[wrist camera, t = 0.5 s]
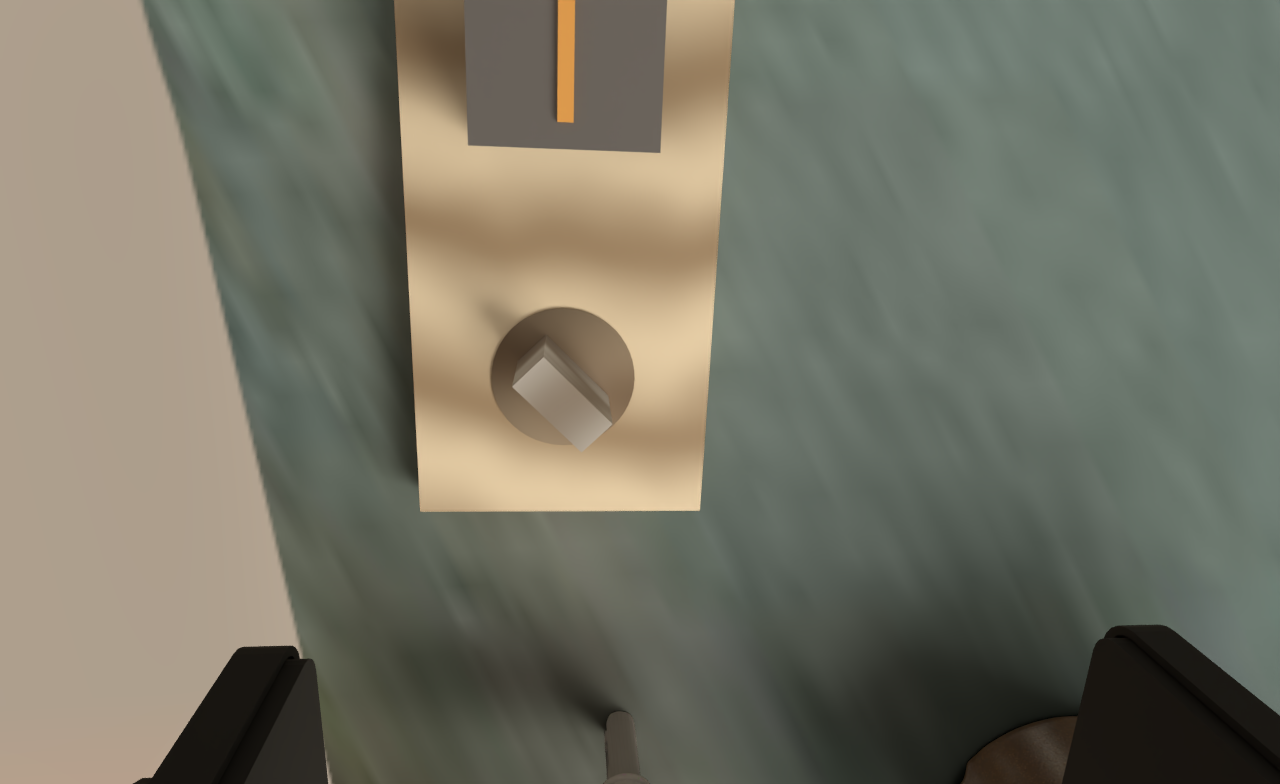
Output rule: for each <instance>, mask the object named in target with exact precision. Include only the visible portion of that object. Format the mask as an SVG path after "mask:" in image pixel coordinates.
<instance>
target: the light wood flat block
mask: <svg viewBox="0 0 1280 784" xmlns="http://www.w3.org/2000/svg"><path fill="white" fill-rule="evenodd" d="M734 3H735V0H667V16H666V39H665V61H664V83H663V106H662V128H661V151H660V153H647V152H621V151H596V150H570V149H545V148H519V147H494V146H468V132H467V94H466V57H465V19H464V0H394V9H395V29H396V48H397V68H398V87H399V107H400V126H401V146H402V165H403V185H404V204H405V223H406V243H407V262H408V282H409V301H410V321H411V340H412V360H413V379H414V399H415V418H416V438H417V457H418V477H419V496H420V512H446V511H700V500H701V486H702V471H703V456H704V442H705V427H706V412H707V398H708V383H709V369H710V354H711V339H712V325H713V310H714V295H715V281H716V266H717V252H718V237H719V222H720V208H721V193H722V178H723V164H724V149H725V135H726V120H727V105H728V91H729V76H730V61H731V47H732V32H733V18H734Z"/></svg>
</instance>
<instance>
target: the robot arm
mask: <svg viewBox="0 0 1280 784" xmlns="http://www.w3.org/2000/svg"><path fill="white" fill-rule="evenodd" d="M133 784H328V778H327V768H326V759H325V750H324V740H323V731H322V722H321V712H320V703H319V694H318V684H317V675H316V668H315V664H314V661H313V660H312V659H300V658H299V653H298V651H297V649H296V648H295V647H294V646H262V647H261V646H260V647H242V648H239V649H238V650H237V651H236V652H235V653H234V654H233V656H232V657H231V659H230V660H229V662H228V663H227V665H226V666H225V668H224V669H223V671H222V672H221V674H220V675H219V677H218V679H217V680H216V682H215V683H214V684H213V686H212V687H211V689H210V690H209V692H208V694H207V695H206V697H205V698H204V700H203V701H202V703H201V704H200V706H199V707H198V709H197V710H196V712H195V713H194V715H193V716H192V718H191V719H190V721H189V722H188V724H187V726H186V727H185V729H184V730H183V732H182V733H181V735H180V736H179V738H178V739H177V741H176V742H175V744H174V745H173V747H172V748H171V750H170V751H169V753H168V755H167V756H166V758H165V759H164V760H163V762H162V764H161V765H160V767H159V768H158V770H157V771H156V773H155V774H154V776H153V777H152V778H142V779H140V780H139V781H137V782H135V783H133ZM1062 784H1280V716H1279V715H1278V714H1277V713H1276V712H1274V711H1273V710H1272V709H1271V708H1269V707H1268V706H1267V705H1266V704H1264V703H1263V702H1262V701H1261V700H1259V699H1258V698H1257V697H1256V696H1255V695H1253V694H1252V693H1251V692H1250V691H1248V690H1247V689H1246V688H1245V687H1243V686H1242V685H1241V684H1240V683H1238V682H1237V681H1236V680H1235V679H1233V678H1232V677H1231V676H1230V675H1228V674H1227V673H1226V672H1225V671H1223V670H1222V669H1221V668H1220V667H1218V666H1217V665H1216V664H1215V663H1213V662H1212V661H1211V660H1210V659H1208V658H1207V657H1206V656H1205V655H1203V654H1202V653H1201V652H1200V651H1199V650H1197V649H1196V648H1195V647H1194V646H1192V645H1191V644H1190V643H1189V642H1187V641H1186V640H1185V639H1184V638H1182V637H1181V636H1180V635H1179V634H1177V633H1176V632H1175V631H1173V630H1172V629H1170V628H1168V627H1167V626H1162V625H1127V626H1115V627H1112V628H1111V629H1110V630H1109V631H1108V632H1107V633H1106V635H1105V637H1104V639H1100V640H1099V641H1098V642H1097V643H1096V645H1095V647H1094V650H1093V654H1092V658H1091V662H1090V666H1089V671H1088V675H1087V679H1086V683H1085V687H1084V692H1083V696H1082V700H1081V704H1080V708H1079V713H1078V717H1077V721H1076V725H1075V729H1074V734H1073V738H1072V742H1071V746H1070V751H1069V755H1068V759H1067V763H1066V767H1065V772H1064V776H1063V780H1062Z"/></svg>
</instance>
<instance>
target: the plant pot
mask: <svg viewBox="0 0 1280 784" xmlns="http://www.w3.org/2000/svg"><path fill="white" fill-rule="evenodd" d="M1077 717H1078V716H1066V717H1055V718H1050V719H1045V720H1041V721H1038V722H1034V723H1030V724H1027V725H1025V726H1022V727H1019V728H1017V729H1015V730H1013V731H1011V732H1008V733H1006V734H1004V735H1003V736H1001V737H999V738H998V739H996V740H994V741H992V742H991V743H989V744H988V745H986V746H985V747H984V748H983V749H982V750H980V751H979V752H978V753H977V754H976V755H975V756H974V757H973V758H972V759H971V760H970V761H969V762H968V763H967V768H966V773H965V777H964V779H963V781H962V782H961V783H960V784H1062V780H1063V776H1064V772H1065V767H1066V763H1067V759H1068V755H1069V751H1070V746H1071V742H1072V738H1073V734H1074V729H1075V725H1076V721H1077Z"/></svg>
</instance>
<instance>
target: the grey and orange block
mask: <svg viewBox="0 0 1280 784" xmlns="http://www.w3.org/2000/svg"><path fill="white" fill-rule="evenodd" d="M666 16H667V0H464V19H465V57H466V94H467V132H468V146H494V147H519V148H545V149H570V150H596V151H621V152H647V153H660V151H661V128H662V106H663V83H664V61H665V39H666Z"/></svg>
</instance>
